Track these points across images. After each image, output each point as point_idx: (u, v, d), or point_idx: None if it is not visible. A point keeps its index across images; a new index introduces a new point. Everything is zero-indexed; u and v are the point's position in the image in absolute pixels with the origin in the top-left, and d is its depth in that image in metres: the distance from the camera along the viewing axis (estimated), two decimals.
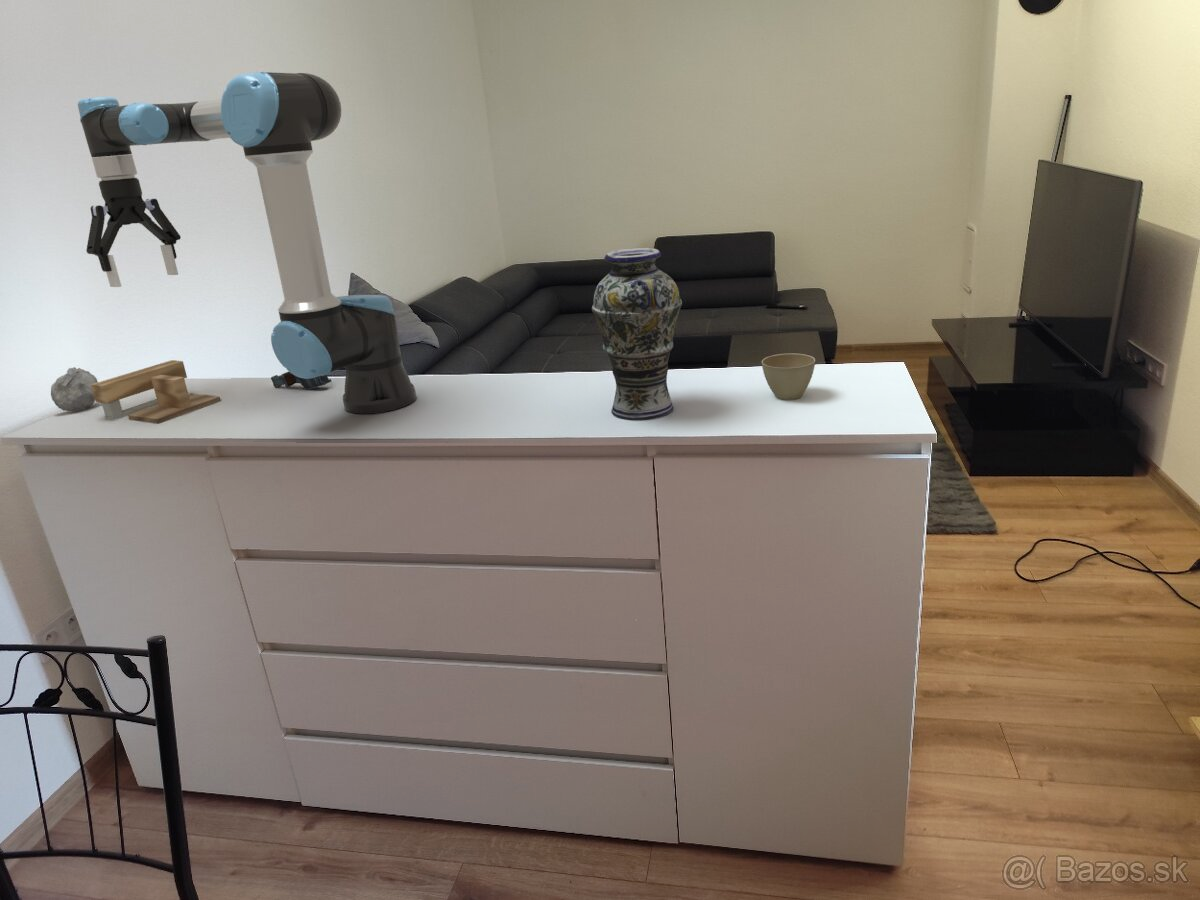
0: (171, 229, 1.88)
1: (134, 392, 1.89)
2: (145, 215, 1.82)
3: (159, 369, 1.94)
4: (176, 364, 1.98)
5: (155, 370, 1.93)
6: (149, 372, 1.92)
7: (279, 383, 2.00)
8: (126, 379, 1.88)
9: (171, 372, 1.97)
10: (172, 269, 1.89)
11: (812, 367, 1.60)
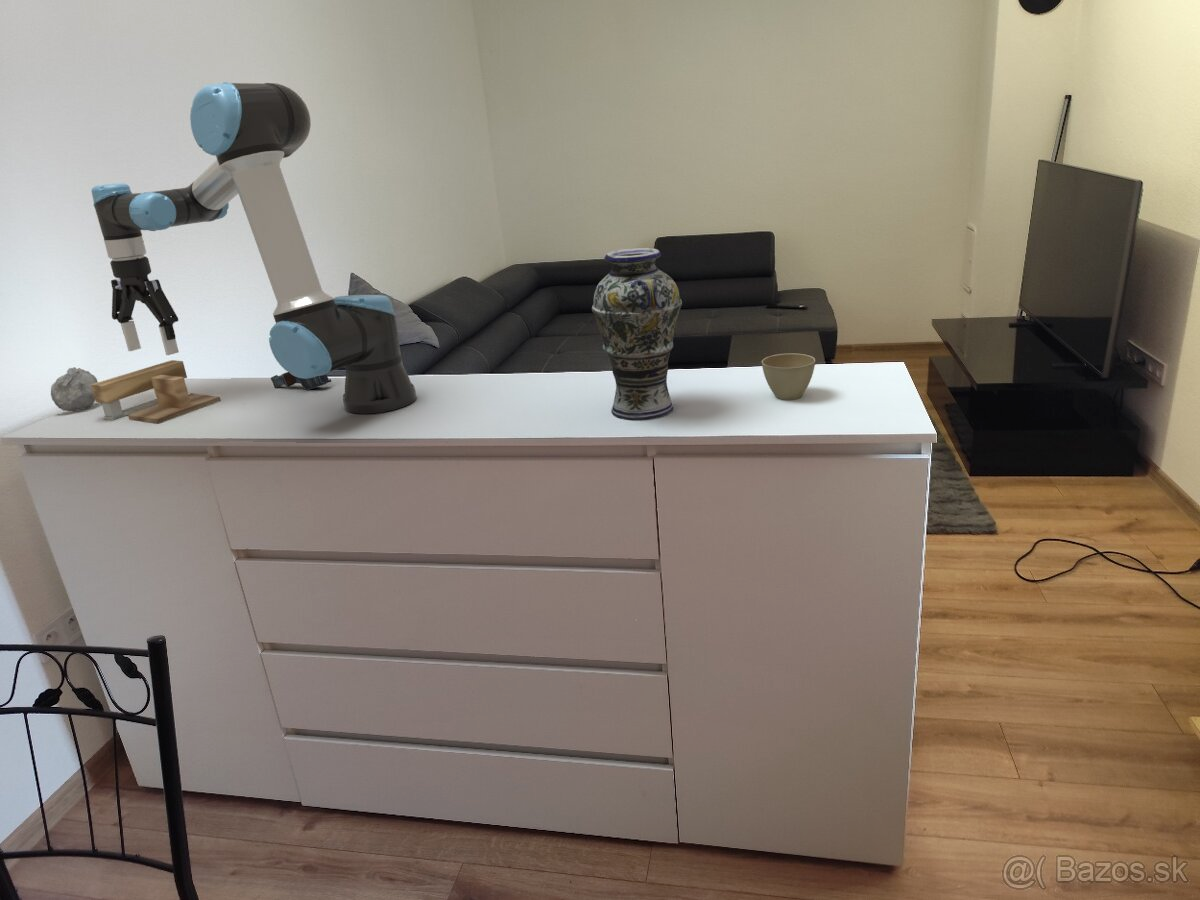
0: (161, 312, 1.86)
1: (134, 392, 1.89)
2: (139, 295, 1.87)
3: (159, 369, 1.94)
4: (176, 364, 1.98)
5: (155, 370, 1.93)
6: (149, 372, 1.92)
7: (279, 383, 2.00)
8: (126, 379, 1.88)
9: (171, 372, 1.97)
10: None
11: (812, 367, 1.60)
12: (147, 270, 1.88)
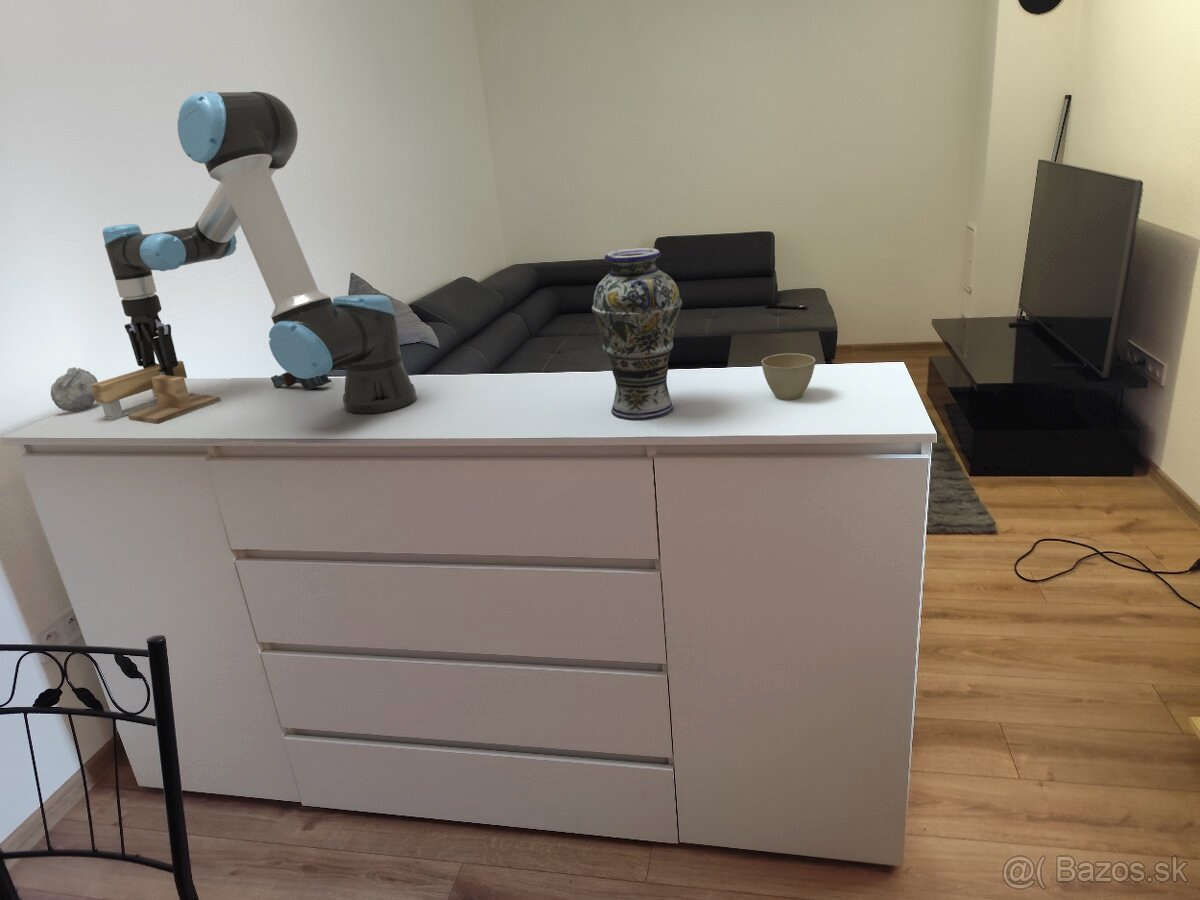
0: (164, 357, 1.92)
1: (134, 392, 1.89)
2: (147, 335, 1.91)
3: (159, 369, 1.94)
4: None
5: (155, 370, 1.93)
6: (149, 372, 1.92)
7: (279, 383, 2.00)
8: (126, 379, 1.88)
9: None
10: None
11: (812, 367, 1.60)
12: (157, 308, 1.91)
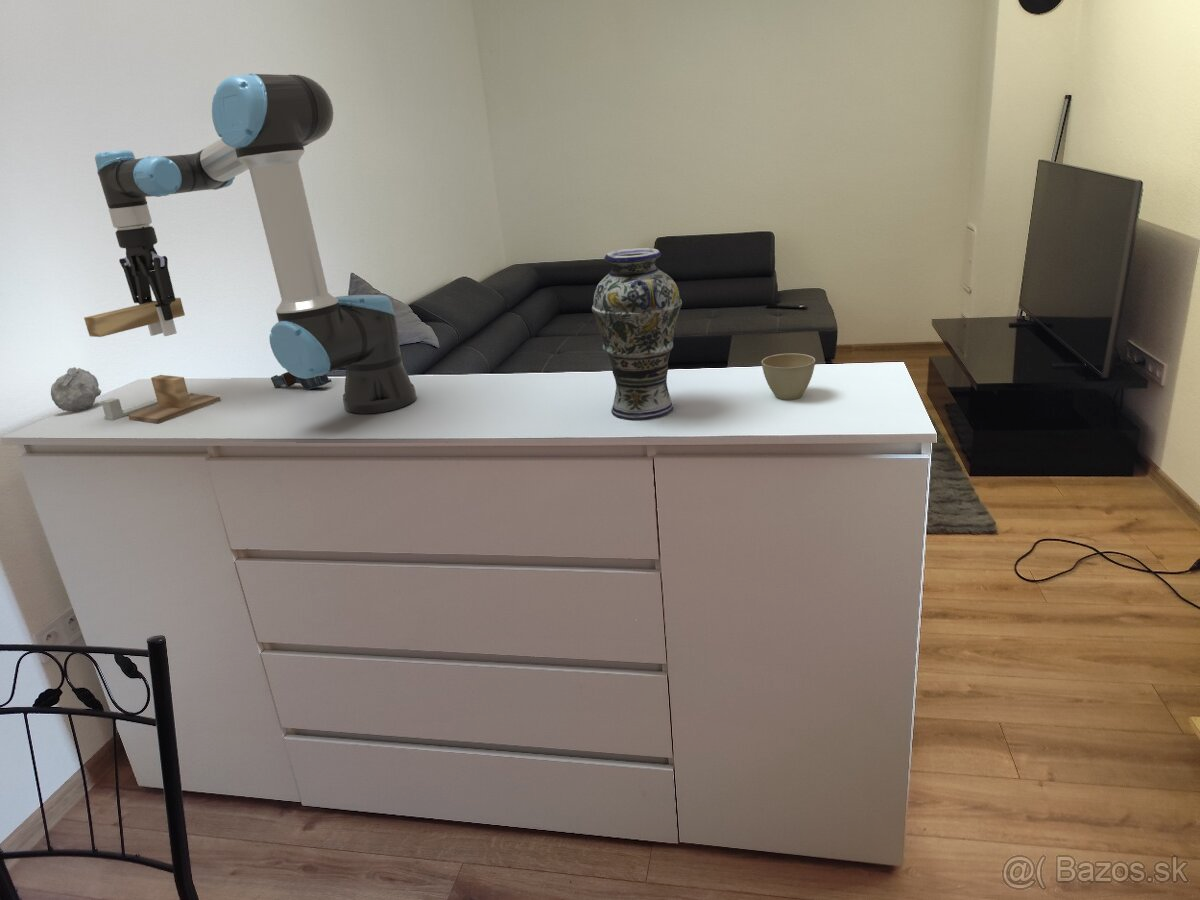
0: (160, 291, 1.84)
1: (130, 326, 1.82)
2: (143, 268, 1.83)
3: (155, 304, 1.86)
4: None
5: (151, 305, 1.86)
6: (145, 307, 1.84)
7: (279, 383, 2.00)
8: (121, 312, 1.80)
9: None
10: None
11: (812, 367, 1.60)
12: (153, 240, 1.83)
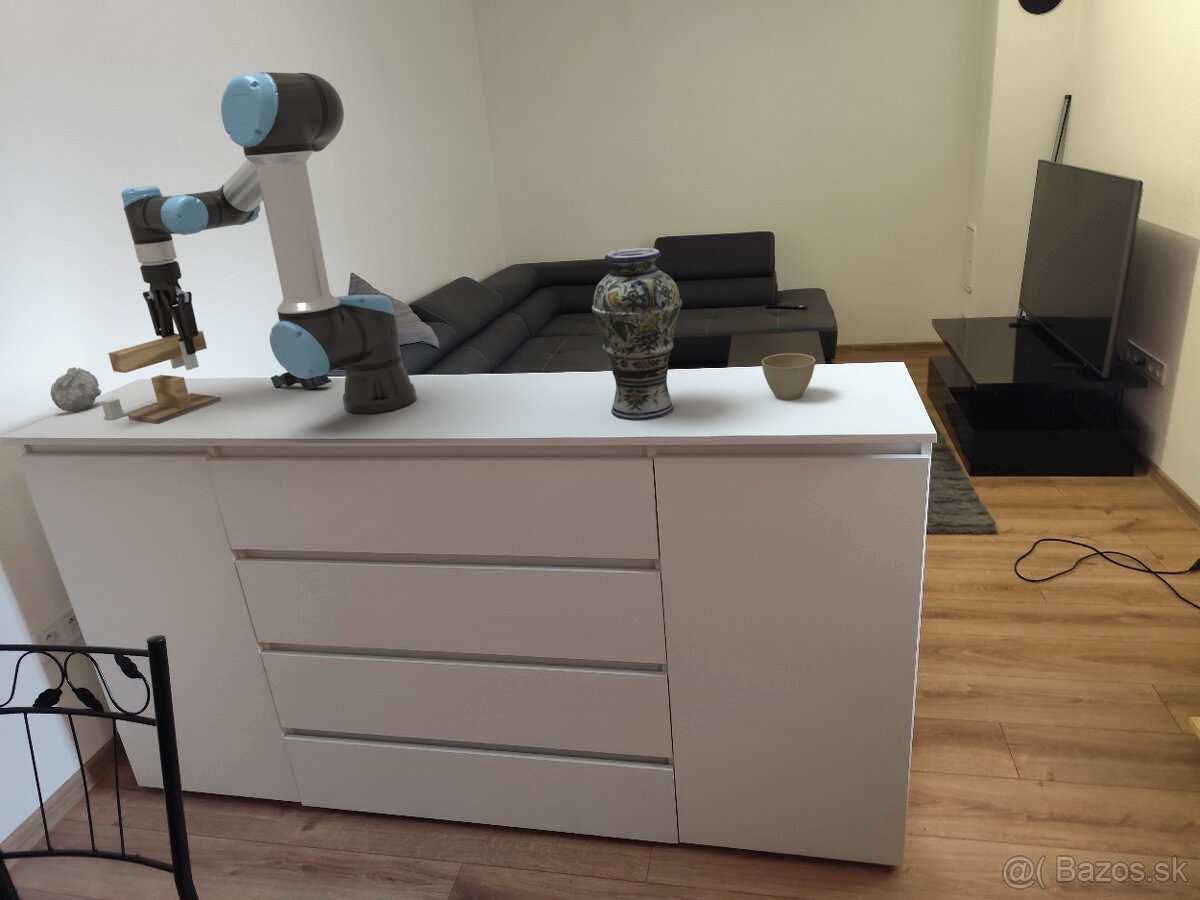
0: (184, 326, 1.84)
1: (153, 361, 1.82)
2: (167, 303, 1.84)
3: None
4: None
5: (174, 339, 1.86)
6: (168, 341, 1.85)
7: (279, 383, 2.00)
8: (145, 348, 1.80)
9: None
10: None
11: (812, 367, 1.60)
12: (177, 275, 1.83)
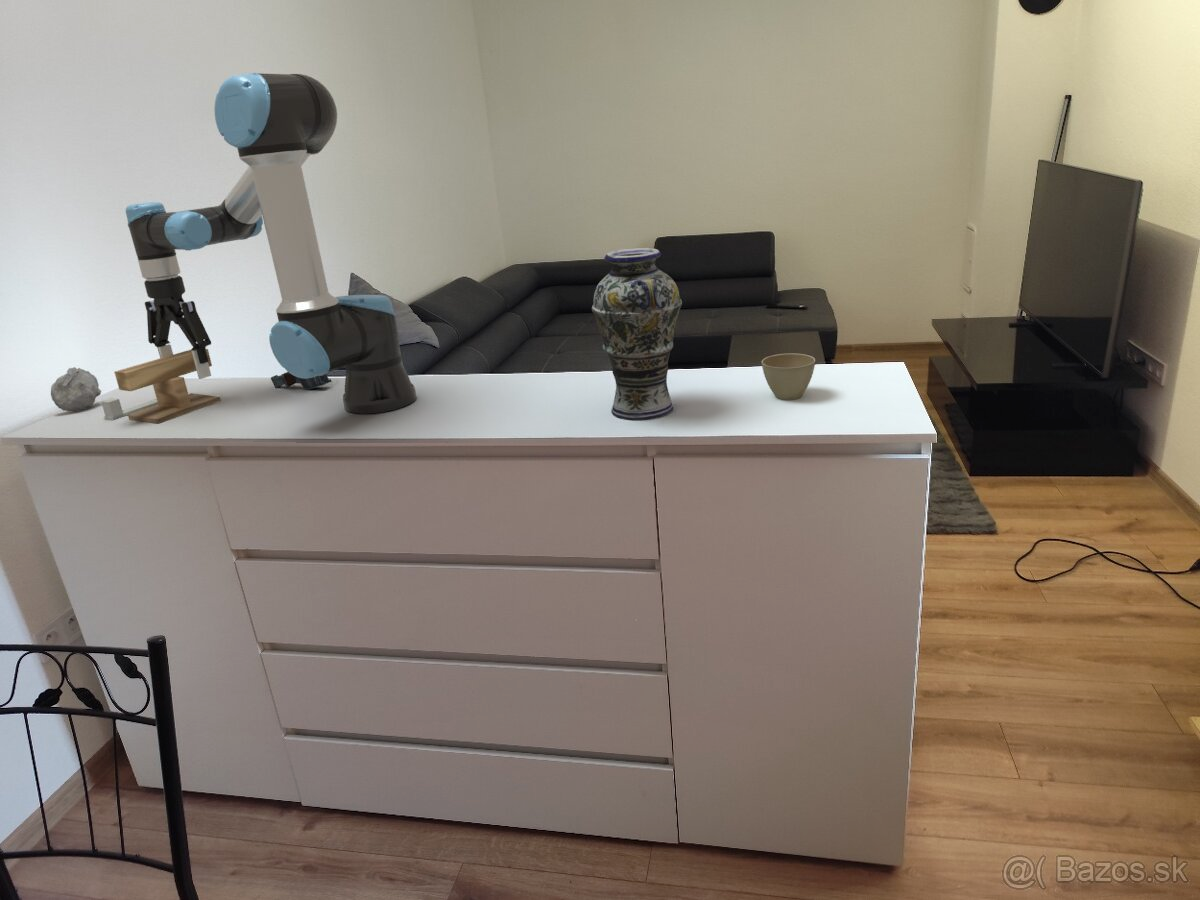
0: (194, 335, 1.84)
1: (159, 379, 1.84)
2: (173, 316, 1.84)
3: (184, 357, 1.88)
4: None
5: (180, 357, 1.87)
6: (174, 359, 1.86)
7: (279, 383, 2.00)
8: (151, 366, 1.82)
9: None
10: None
11: (812, 367, 1.60)
12: (181, 290, 1.84)
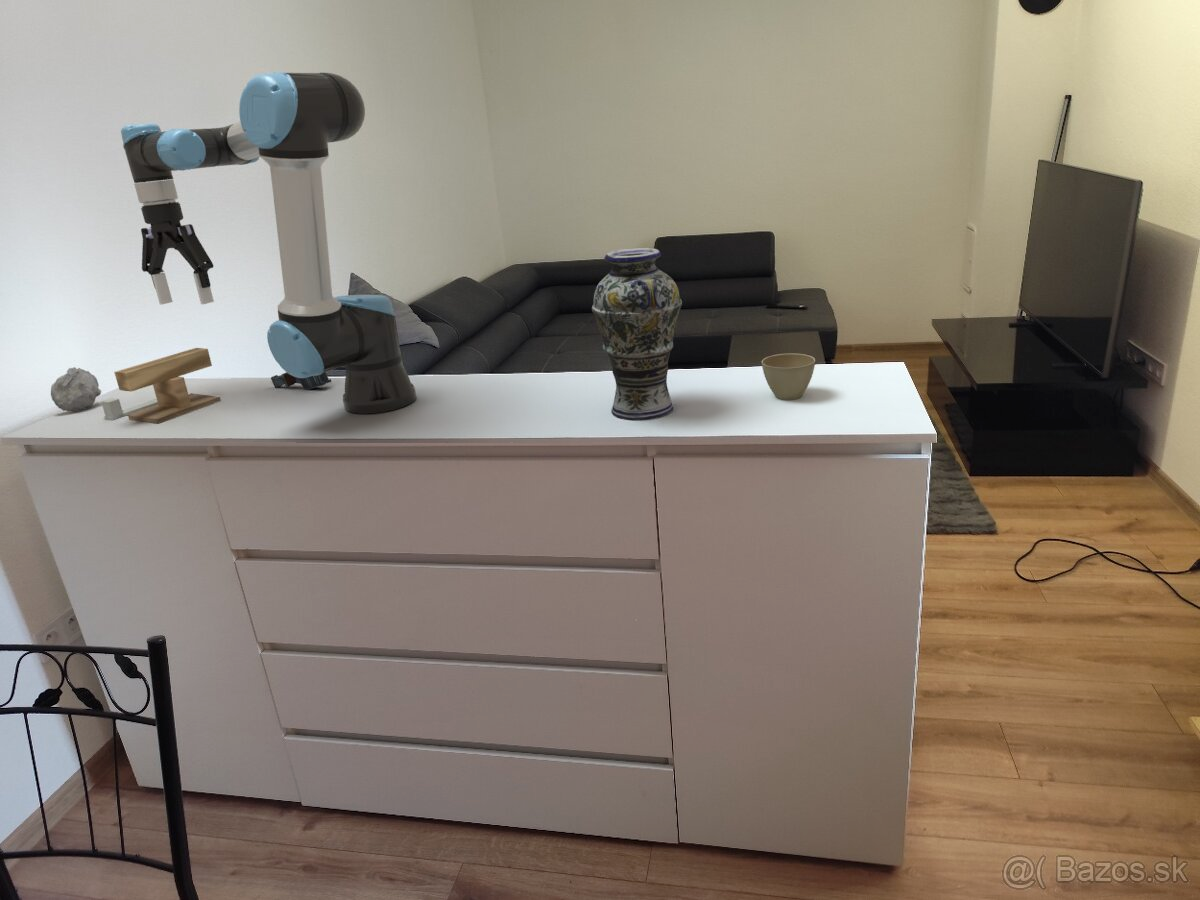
0: (196, 258, 1.79)
1: (159, 379, 1.84)
2: (171, 241, 1.80)
3: (184, 356, 1.88)
4: (201, 352, 1.92)
5: (180, 357, 1.87)
6: (174, 359, 1.86)
7: (279, 383, 2.00)
8: (151, 366, 1.82)
9: (195, 360, 1.91)
10: None
11: (812, 367, 1.60)
12: (179, 215, 1.80)
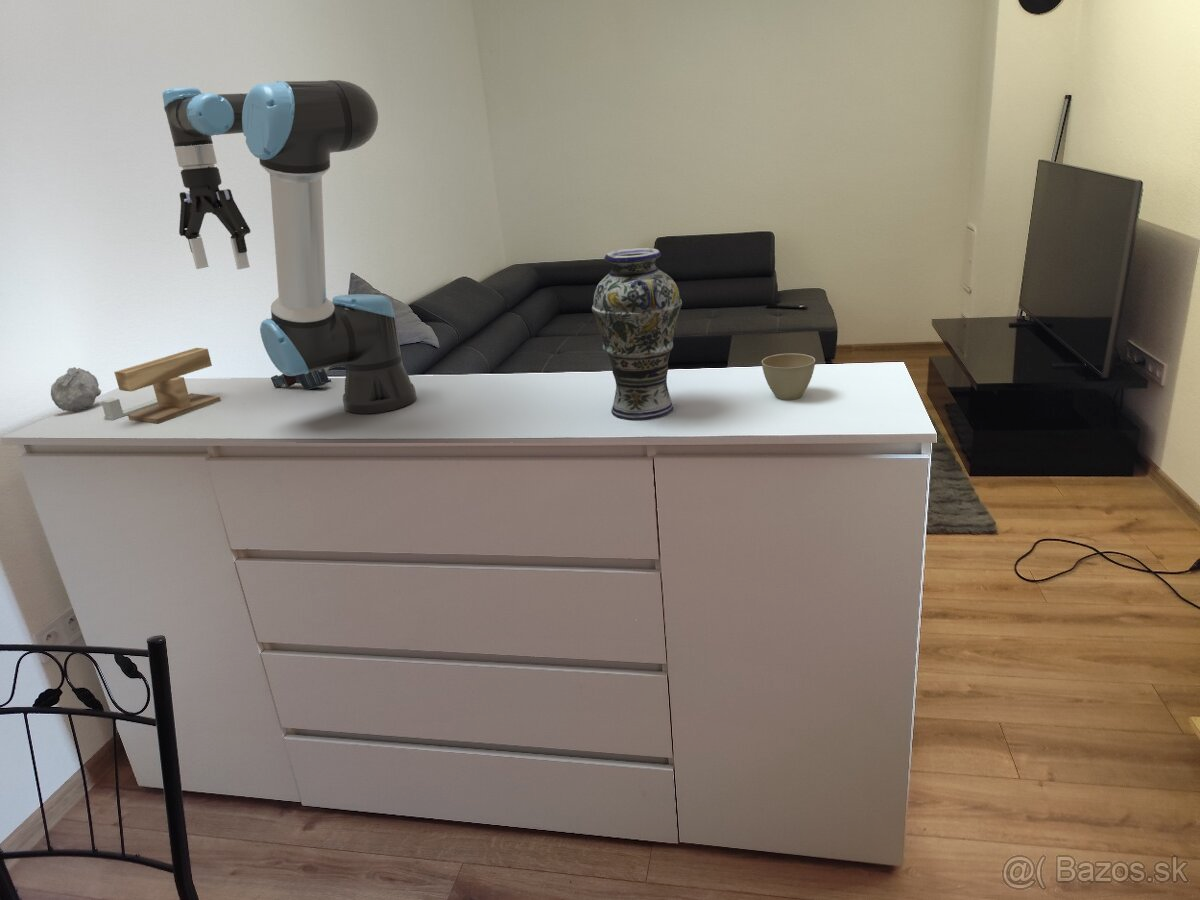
0: (233, 223, 1.80)
1: (159, 379, 1.84)
2: (209, 206, 1.81)
3: (184, 356, 1.88)
4: (201, 352, 1.92)
5: (180, 357, 1.87)
6: (174, 359, 1.86)
7: (279, 383, 2.00)
8: (151, 366, 1.82)
9: (195, 360, 1.91)
10: None
11: (812, 367, 1.60)
12: (218, 180, 1.81)
